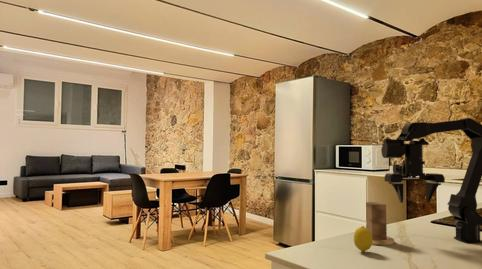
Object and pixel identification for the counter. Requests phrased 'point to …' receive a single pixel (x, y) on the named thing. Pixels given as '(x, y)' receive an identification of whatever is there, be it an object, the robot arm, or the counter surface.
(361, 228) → the lemon
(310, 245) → the counter surface
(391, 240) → the cork trivet
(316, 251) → the counter surface
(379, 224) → the walnut block
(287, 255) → the counter surface
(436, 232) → the counter surface
